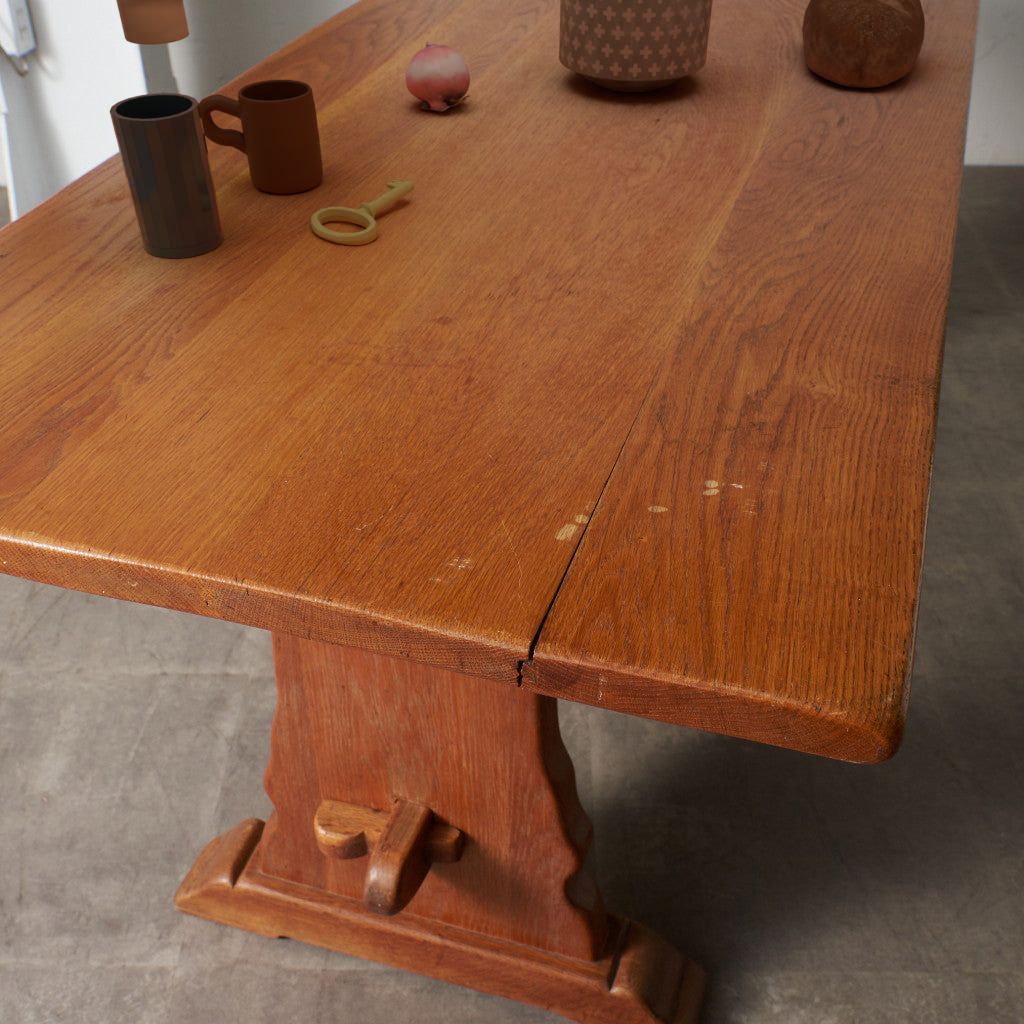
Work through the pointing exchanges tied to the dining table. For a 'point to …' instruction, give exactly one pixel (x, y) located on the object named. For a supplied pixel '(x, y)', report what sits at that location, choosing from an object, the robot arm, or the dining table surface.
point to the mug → (271, 133)
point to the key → (359, 216)
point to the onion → (438, 76)
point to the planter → (634, 41)
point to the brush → (153, 21)
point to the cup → (168, 173)
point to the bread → (863, 40)
